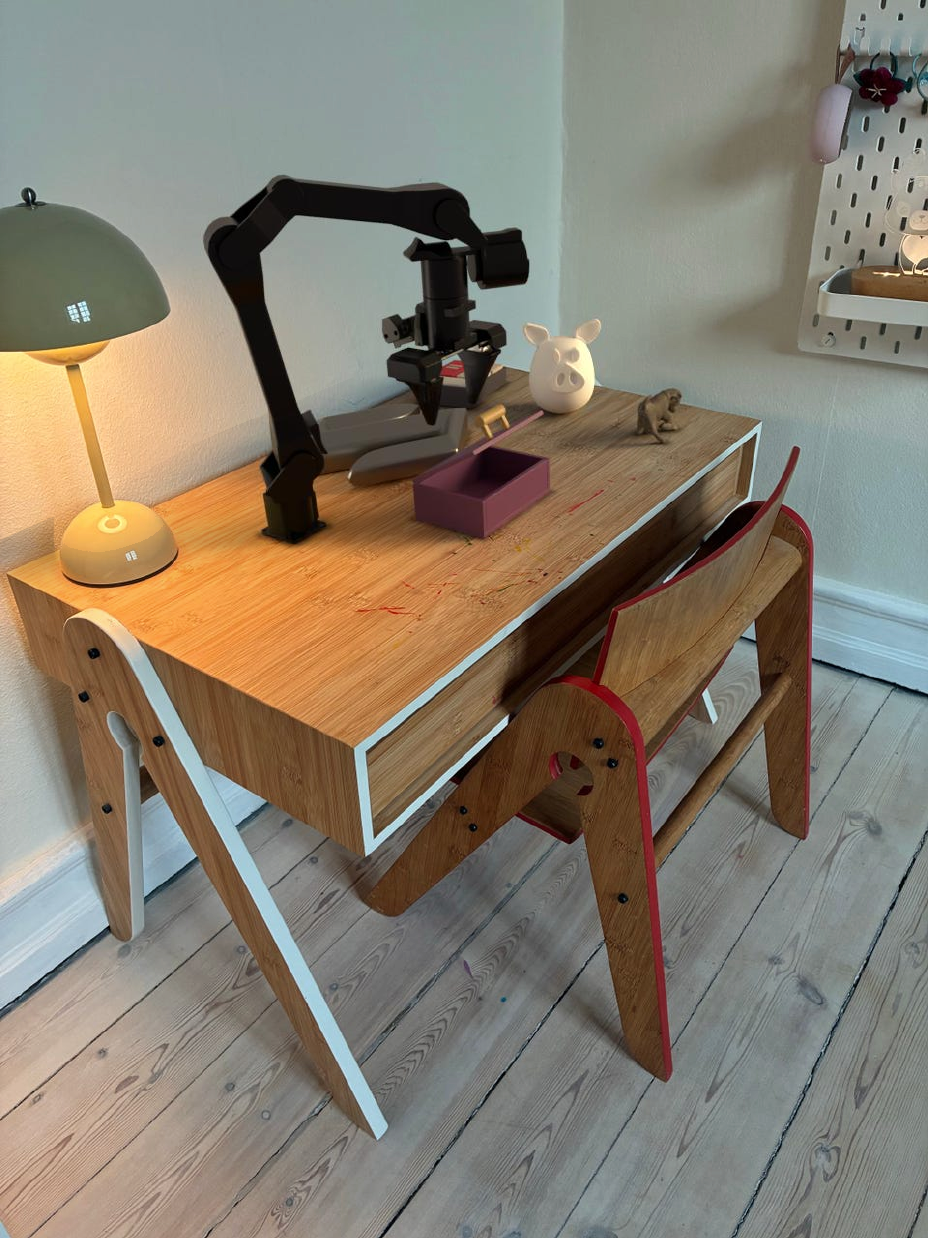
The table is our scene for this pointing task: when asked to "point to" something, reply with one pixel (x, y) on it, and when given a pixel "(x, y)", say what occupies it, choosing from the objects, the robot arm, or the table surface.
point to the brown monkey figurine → (658, 412)
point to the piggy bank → (561, 367)
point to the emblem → (390, 442)
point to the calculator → (456, 386)
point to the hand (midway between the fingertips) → (452, 413)
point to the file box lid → (485, 442)
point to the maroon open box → (482, 491)
